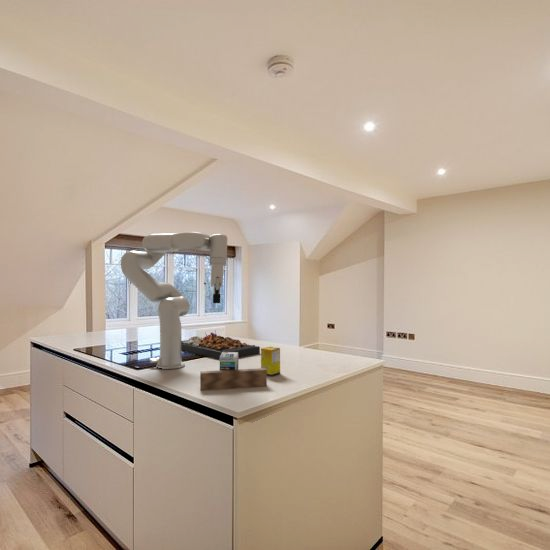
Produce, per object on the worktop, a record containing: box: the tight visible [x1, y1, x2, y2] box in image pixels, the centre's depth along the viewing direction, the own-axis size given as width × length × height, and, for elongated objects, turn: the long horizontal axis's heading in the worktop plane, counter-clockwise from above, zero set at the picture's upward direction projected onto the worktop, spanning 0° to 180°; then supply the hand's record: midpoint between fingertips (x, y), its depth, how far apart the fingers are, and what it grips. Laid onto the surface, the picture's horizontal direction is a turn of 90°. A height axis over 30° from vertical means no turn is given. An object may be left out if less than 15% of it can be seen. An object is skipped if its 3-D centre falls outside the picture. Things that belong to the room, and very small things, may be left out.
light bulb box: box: [219, 352, 239, 371], centre depth 142 cm, size 11×7×11 cm, turn 3°
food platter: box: [181, 329, 261, 361], centre depth 206 cm, size 45×25×10 cm, turn 46°
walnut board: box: [199, 367, 268, 391], centre depth 135 cm, size 24×3×6 cm, turn 102°
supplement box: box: [260, 346, 281, 377], centre depth 154 cm, size 6×6×11 cm
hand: (216, 303), depth 164 cm, fingers closed
